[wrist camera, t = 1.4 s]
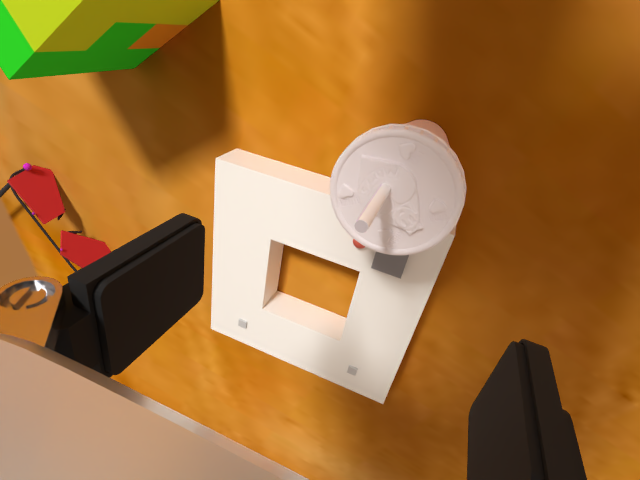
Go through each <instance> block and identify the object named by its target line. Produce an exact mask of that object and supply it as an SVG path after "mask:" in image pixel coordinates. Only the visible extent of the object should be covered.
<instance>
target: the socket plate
mask: <svg viewBox="0 0 640 480" xmlns="http://www.w3.org/2000/svg"><path fill="white" fill-rule="evenodd" d="M330 180H331V178H330V177H327V176H324V175H321V174H318V173H314V172H311V171H308V170H305V169H301V168H298V167H295V166H292V165H289V164H285V163H282V162H279V161H276V160H273V159H269V158H266V157H263V156H260V155H257V154H253V153H250V152H247V151H244V150H241V149H234V150H232V151H230V152H228V153H226V154H223V155H221V156H219V157H217V158H216V162H215V199H214V237H213V274H212V311H211V329H213V330H215V331H218V332H220V333H222V334H224V335H227V336H229V337H231V338H233V339H236V340H238V341H240V342H243V343H245V344H247V345H249V346H252V347H254V348H256V349H258V350H261V351H263V352H265V353H268V354H270V355H272V356H274V357H277V358H279V359H281V360H284V361H286V362H288V363H290V364H293V365H295V366H297V367H299V368H302V369H304V370H306V371H309V372H311V373H313V374H315V375H318V376H320V377H322V378H324V379H327V380H329V381H331V382H334V383H336V384H338V385H340V386H343V387H345V388H347V389H349V390H352V391H354V392H356V393H359V394H361V395H363V396H365V397H368V398H370V399H372V400H375V401H377V402H379V403H381V404H383V403H384V401H385V398H386V396H387V394H388V391H389V389H390V387H391V384H392V382H393V380H394V377H395V375H396V373H397V370H398V368H399V366H400V363H401V361H402V359H403V356H404V354H405V352H406V349H407V347H408V345H409V342H410V340H411V337H412V335H413V333H414V330H415V328H416V326H417V323H418V321H419V319H420V316H421V314H422V312H423V309H424V307H425V305H426V302H427V300H428V298H429V295H430V293H431V291H432V288H433V286H434V284H435V281H436V279H437V277H438V274H439V272H440V270H441V267H442V265H443V263H444V260H445V258H446V256H447V253H448V251H449V248H450V246H451V244H452V241H453V239H454V237H455V232H456V225H455V227H454V229H453V230H452V231H451V232H450V234H449V235H448V236H447V237H446V238H445V239H444V240H442V241H441V242H440V243H438V244H437V245H435V246H434V247H432V248H430V249H428V250H425V251H423V252H420V253H416V254H411V255H388V254H383V253H380V252H376V251H374V250H371V249H369V248H367V247H365V246H363V245H362V244H360V243H359V242H357V241H356V240H355V239H353V238H352V237H351V236H350V235H349V234H348V233H347V232H346V231H345V229H344V228H343V227H342V226H341V224H340V223H339V221H338V219H337V217H336V215H335V213H334V210H333V207H332V204H331V198H330ZM284 244H285V245H288V246H291V247H293V248H296V249H299V250H302V251H304V252H307V253H310V254H313V255H315V256H318V257H321V258H324V259H326V260H329V261H332V262H335V263H337V264H340V265H343V266H346V267H348V268H351V269H354V270H357V271H359V272H360V273H359V277H358V280H357V284H356V287H355V291H354V294H353V298H352V301H351V305H350V308H349V312H348V315H347V318H345V317H343V316H340V315H338V314H335V313H333V312H330V311H328V310H325V309H323V308H320V307H317V306H315V305H312V304H310V303H307V302H305V301H302V300H300V299H297V298H295V297H292V296H290V295H287V294H285V293H282V292H280V291H277V288H278V281H279V274H280V268H281V261H282V254H283V247H284Z"/></svg>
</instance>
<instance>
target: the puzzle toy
mask: <svg viewBox="0 0 640 480" xmlns="http://www.w3.org/2000/svg"><path fill="white" fill-rule="evenodd" d="M218 1H219V0H0V67H1V69H2V70H3V72H4V73H5V75H6V76H7V78H8V79H9V80H11V79H22V78H33V77H44V76H55V75H66V74H78V73H89V72H100V71H111V70H122V69H133V68H135V67H137V66H138V65H139V64H140V63H142V62H143V61H144V60H145V59H147V58H148V57H149V56H150V55H152V54H153V53H154V52H155V51H157V50H158V49H159V48H160V47H162V46H163V45H164V44H165V43H167V42H168V41H169V40H170V39H172V38H173V37H174V36H175V35H177V34H178V33H179V32H180V31H182V30H183V29H184V28H185V27H187V26H188V25H189V24H190V23H192V22H193V21H194V20H195V19H197V18H198V17H199V16H200V15H202V14H203V13H204V12H205V11H207V10H208V9H209V8H210V7H212V6H213V5H214V4H215V3H217V2H218Z"/></svg>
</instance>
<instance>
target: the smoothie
mask: <svg viewBox="0 0 640 480" xmlns="http://www.w3.org/2000/svg"><path fill="white" fill-rule="evenodd" d="M466 189H467V187H466V181H465V174H464V170H463V168H462V165H461V163H460V161H459V159H458V157H457V155H456V153H455V152H454V151H453V150H452V149H451V148H450V146H449V143H448V139H447V136H446V134H445V132H444V131H443V129H442V128H441V127H440V126H439V125H437V124H436V123H434V122H432V121H429V120H414V121H411V122H408V123H405V124H387V125H383V126H380V127H376V128H372V129H370V130H369V131H367V132H365V133H363V134H362V135H360V136H358V137H357V138H356V139H355V140H354V141H353V142H352V143H351V144H350V145H349V146H348V147H347V148H346V149H345V150H344V151H343V153H342V154H341V155H340V157H339V158H338V160H337V162H336V164H335V166H334V169H333V171H332V175H331V180H330V198H331V204H332V207H333V210H334V213H335V215H336V217H337V219H338V221H339V223H340V224H341V226H342V227H343V228H344V229H345V231H346V232H347V233H348V234H349V235H350V236H351V237H352V238H353V239H355V240H356V241H357V242H359V243H360V244H362V245H363V246H365V247H367V248H369V249H371V250H374V251H376V252H380V253H383V254H388V255H411V254H416V253H420V252H423V251H425V250H428V249H430V248H432V247H434V246H435V245H437V244H438V243H440V242H441V241H442V240H444V239H445V238H446V237H447V236H448V235H449V234H450V232H451V231H452V230H453V229H454V227H455V225H456V224H457V222H458V220H459V218H460V215H461V212H462V209H463V207H464V203H465V196H466Z"/></svg>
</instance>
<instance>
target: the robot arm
mask: <svg viewBox="0 0 640 480" xmlns="http://www.w3.org/2000/svg"><path fill="white" fill-rule="evenodd" d="M204 247H205V228H204V226H203V225H202V223H201V220H200V219H198V218H195V217H192V216H190V215H187V214H184V213H181V214H179V215H177V216H175V217H173V218H172V219H170V220H168V221H166V222H164V223H163V224H161V225H159V226H157V227H155V228H154V229H152V230H150V231H148V232H146V233H145V234H143V235H141V236H139V237H137V238H136V239H134V240H132V241H130V242H129V243H127V244H125V245H123V246H121V247H120V248H118V249H116V250H114V251H112V252H111V253H109V254H107V255H105V256H103V257H102V258H100V259H98V260H96V261H94V262H93V263H91V264H89V265H87V266H85V267H84V268H82V269H80V270H78V271H76V272H75V273H73V274H71V275H69V276H67V277H68V282H69V283H67V284H66V285H64V286H62V285H61V284H60V282H59V281H57V280H55V279H53V278H49V277H38V276H35V277H27V278H22V279H19V280H15V281H12V282H10V283H8V284H6V285H4V286H2V287H1V288H0V480H309V479H307V478H305V477H303V476H301V475H299V474H298V473H296V472H294V471H292V470H290V469H288V468H286V467H284V466H282V465H280V464H278V463H276V462H274V461H272V460H270V459H268V458H266V457H264V456H263V455H261V454H259V453H257V452H255V451H253V450H251V449H249V448H247V447H245V446H243V445H241V444H239V443H237V442H235V441H233V440H231V439H229V438H227V437H225V436H223V435H221V434H219V433H218V432H216V431H214V430H212V429H210V428H208V427H206V426H204V425H202V424H200V423H198V422H196V421H194V420H192V419H190V418H188V417H186V416H184V415H182V414H180V413H178V412H176V411H174V410H172V409H170V408H168V407H166V406H164V405H162V404H160V403H158V402H156V401H154V400H152V399H150V398H149V397H147V396H145V395H143V394H141V393H139V392H137V391H135V390H133V389H131V388H129V387H127V386H125V385H123V384H121V383H119V382H117V381H115V380H113V379H111V378H110V377H111V376H112V375H117V374H120V373H121V372H122V371H123V370H124V369H125V368H127V367H128V366H129V365H130V364H131V363H132V362H133V361H134V360H135V359H136V358H138V357H139V356H140V355H141V354H142V353H143V352H144V351H145V350H146V349H147V348H149V347H150V346H151V345H152V344H153V343H154V342H155V341H156V340H157V339H158V338H160V337H161V336H162V335H163V334H164V333H165V332H166V331H167V330H168V329H169V328H171V327H172V326H173V325H174V324H175V323H176V322H177V321H178V320H179V319H180V318H182V317H183V316H184V315H185V314H186V313H187V312H188V311H189V310H190V309H191V308H193V307H194V306H195V305H196V304H197V303H198V302H199V301H200V299H201V297H202V295H203V285H204ZM467 480H587V478H586V474H585V470H584V466H583V462H582V458H581V454H580V450H579V446H578V442H577V438H576V434H575V430H574V426H573V422H572V419H571V417H570V414H569V413H568V412H567V411H565V410H563V409H562V406H561V402H560V397H559V393H558V389H557V384H556V380H555V376H554V372H553V367H552V363H551V359H550V354H549V351H548V349H547V348H546V347H544V346H541V345H539V344H536V343H533V342H530V341H528V340H525V339H522V340H521V341H519V343H517V342H514V341H512V342H511V343H510V345H509V346H508V348H507V349H506V351H505V353H504V354H503V356H502V357H501V359H500V361H499V362H498V364H497V366H496V367H495V369H494V370H493V372H492V374H491V375H490V377H489V378H488V380H487V382H486V383H485V385H484V387H483V388H482V390H481V391H480V393H479V395H478V396H477V398H476V400H475V401H474V403H473V405H472V407H471V409H470V413H469V425H468V464H467Z"/></svg>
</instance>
